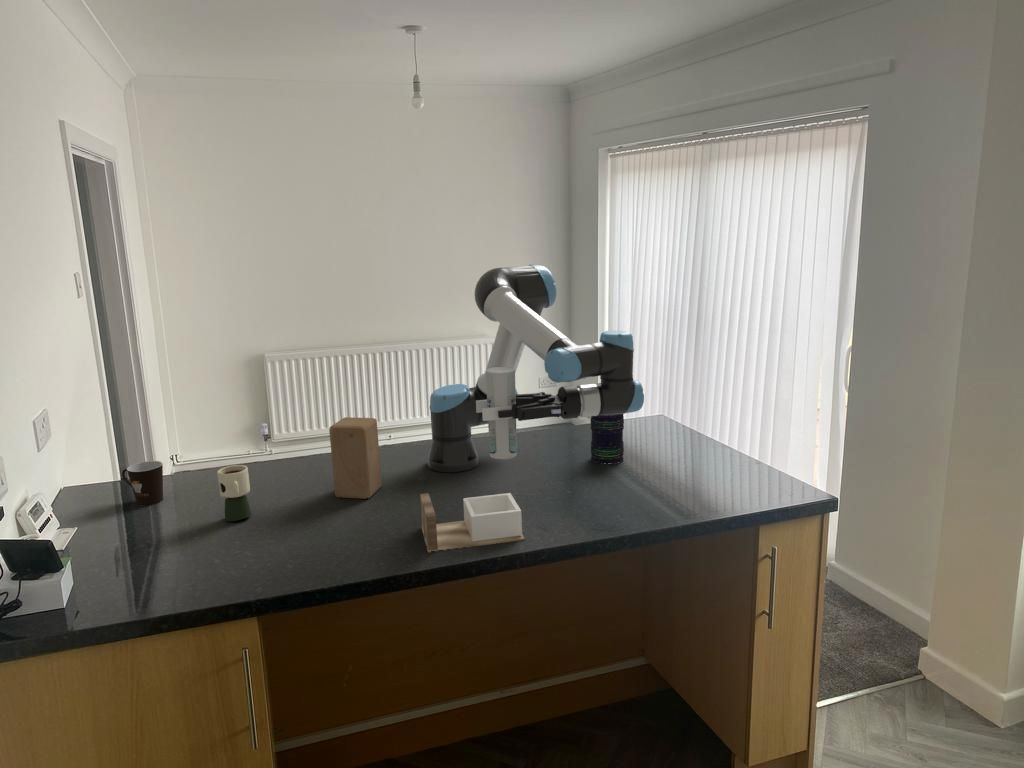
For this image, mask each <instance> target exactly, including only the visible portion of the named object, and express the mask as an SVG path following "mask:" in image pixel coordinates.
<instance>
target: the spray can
mask: <svg viewBox="0 0 1024 768" xmlns="http://www.w3.org/2000/svg"><path fill="white" fill-rule="evenodd" d="M485 371H486V385H487V406H488V408H491V407H502V406H512V409H513V404H516V391H515V388H516V373H515V369H514V368H511V367H493V368H489V369H487V370H486V369H485ZM487 427H488V443H489V445H488V446H489V456H490V457H491V458H492V459H496V460H509V459H513V458H515V457H516V456H517V454H518V446H517V445H518V443H517V441H518V439H517V419H513V417H512V418H510V419H500V420H489V421H488V424H487Z"/></svg>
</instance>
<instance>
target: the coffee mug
mask: <svg viewBox="0 0 1024 768" xmlns="http://www.w3.org/2000/svg"><path fill="white" fill-rule="evenodd" d="M163 467H164V465H163V462H162V461H160V460H149V461H148V460H147V461H140V462H137V463H134V464H131V465H129V466H128V467H127V468H125V469H123V470H122V471H121V472H122V473H121V475H122V479H123V480H124V482H126V484H127V485H128V486H130V487H131V488H132V491H133V495H134V498H135V501H136V502H135V503H136V505H137V504H138V506H139V505H149V506H153V505H152V504H154V505H157V504H159V503H161V502H163V500H164V476H163V475H164V474H163V473H164V472H163ZM126 472H127V474H128V475H127V476H128V478H129V480H128V479H127V477H126V475H125V474H126ZM160 501H161V502H160ZM158 502H159V503H158ZM156 503H157V504H156Z"/></svg>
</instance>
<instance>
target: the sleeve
mask: <svg viewBox="0 0 1024 768" xmlns="http://www.w3.org/2000/svg"><path fill="white" fill-rule="evenodd" d="M462 500H463V519H464V520H463V521H464V522H465V524H466V527H467V529H468V532H469V534H470V537H471V539H472V541H473V542H474V541H482V540H490V539H497V538H505V537H513V536H521V535H523V524H522V523H523V520H522V518H523V517H522V516H523V515H522V510H521V508H520V506H519V504H518V503H517V502H516V500H515V497H514V496H513V495H512V493H511V492H507V493H498V494H490V495H480V496H472V497H471V496H470V497H465V498H463V499H462Z"/></svg>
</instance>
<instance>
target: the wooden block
mask: <svg viewBox="0 0 1024 768" xmlns="http://www.w3.org/2000/svg"><path fill="white" fill-rule="evenodd" d="M378 431H379V430H378V422H377V418H374V417H350V416H349V417H348V416H347V417H346V416H345V417H344V418H342V419H341V418H340V420H338V421H336V422H335V423H333V424H332V425H330V426H329V439H330V440H329V442H330V450H331V451H330V452H331V462H332V463H331V465H332V473H333V483H334V484H333V485H334V495H335V497H336V498H340V497H341V498H344V499H365V500H367V498H368V499H370V498H371V497H372V496H373V495H375V493H377V492H378V490H379V489H380V488H381V487H382V484H383V483H382V473H381V459H380V458H381V457H380V445H379V433H378Z"/></svg>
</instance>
